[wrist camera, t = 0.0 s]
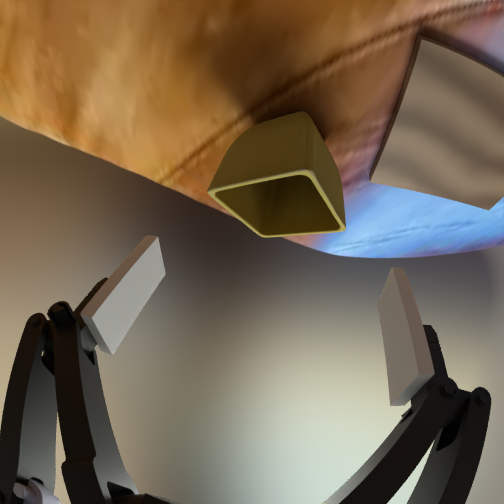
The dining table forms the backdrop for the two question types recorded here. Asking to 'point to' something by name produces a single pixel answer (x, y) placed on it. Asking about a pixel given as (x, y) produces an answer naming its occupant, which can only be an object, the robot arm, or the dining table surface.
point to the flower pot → (281, 179)
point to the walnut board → (446, 128)
